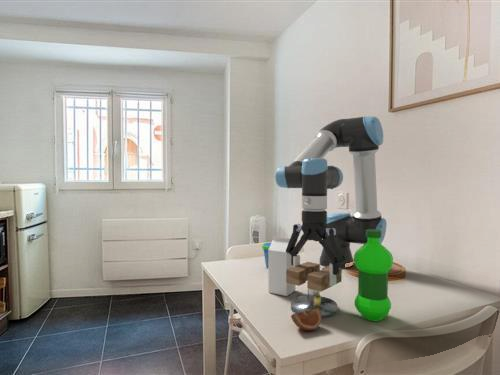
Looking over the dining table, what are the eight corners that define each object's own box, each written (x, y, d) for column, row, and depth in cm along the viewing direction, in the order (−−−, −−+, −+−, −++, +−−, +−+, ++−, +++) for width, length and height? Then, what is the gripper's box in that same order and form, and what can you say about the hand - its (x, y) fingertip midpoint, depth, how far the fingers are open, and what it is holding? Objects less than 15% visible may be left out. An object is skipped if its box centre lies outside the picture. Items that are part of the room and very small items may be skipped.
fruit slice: (298, 337, 84) (299, 317, 84) (285, 326, 91) (285, 308, 90) (326, 330, 88) (326, 312, 88) (311, 320, 94) (311, 303, 94)
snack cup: (258, 263, 154) (258, 241, 154) (280, 262, 156) (280, 240, 156) (267, 273, 139) (267, 248, 138) (291, 271, 141) (291, 247, 141)
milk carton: (286, 296, 112) (286, 240, 111) (268, 292, 116) (268, 238, 115) (295, 290, 118) (295, 236, 117) (277, 286, 122) (277, 235, 121)
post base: (314, 296, 112) (314, 270, 112) (347, 311, 100) (347, 281, 100) (281, 305, 104) (281, 277, 104) (312, 322, 93) (312, 290, 92)
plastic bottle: (364, 307, 103) (365, 226, 102) (398, 318, 95) (400, 230, 94) (346, 316, 97) (347, 230, 96) (381, 328, 89) (382, 235, 88)
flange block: (307, 273, 110) (307, 261, 110) (341, 281, 102) (341, 268, 102) (286, 282, 101) (286, 269, 101) (321, 291, 93) (321, 277, 93)
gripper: (274, 208, 106) (274, 275, 107) (346, 213, 90) (345, 293, 91) (288, 206, 112) (288, 270, 113) (358, 211, 96) (357, 286, 96)
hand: (313, 280), depth 102 cm, fingers closed on flange block, 12 cm apart
